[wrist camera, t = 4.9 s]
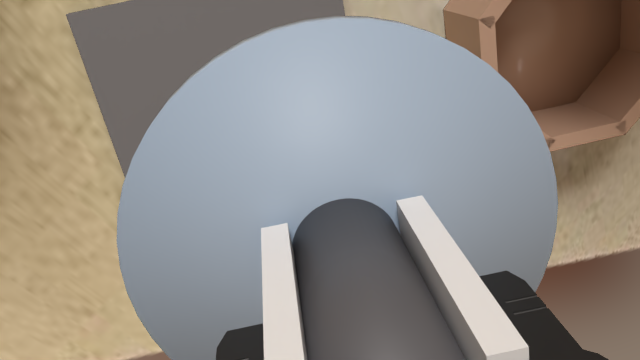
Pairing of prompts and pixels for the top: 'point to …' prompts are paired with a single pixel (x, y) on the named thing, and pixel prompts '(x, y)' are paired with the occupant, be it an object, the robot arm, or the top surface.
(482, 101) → the lid
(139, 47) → the mat
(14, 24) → the top surface
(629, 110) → the bowl
